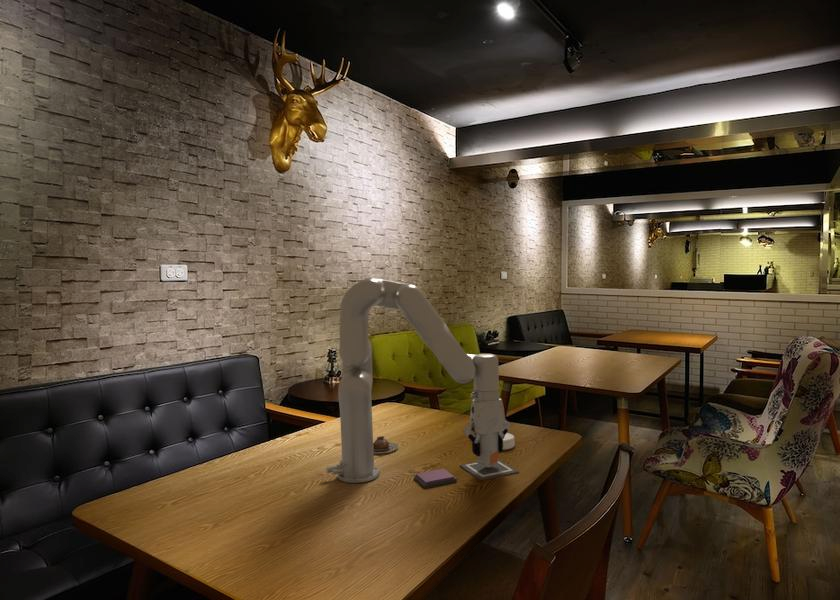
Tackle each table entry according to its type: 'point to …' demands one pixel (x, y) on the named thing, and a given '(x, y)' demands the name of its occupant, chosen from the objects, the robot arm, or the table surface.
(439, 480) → the ink pad
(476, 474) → the mat
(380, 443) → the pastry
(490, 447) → the skincare box
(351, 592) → the table surface
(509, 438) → the white round disc
